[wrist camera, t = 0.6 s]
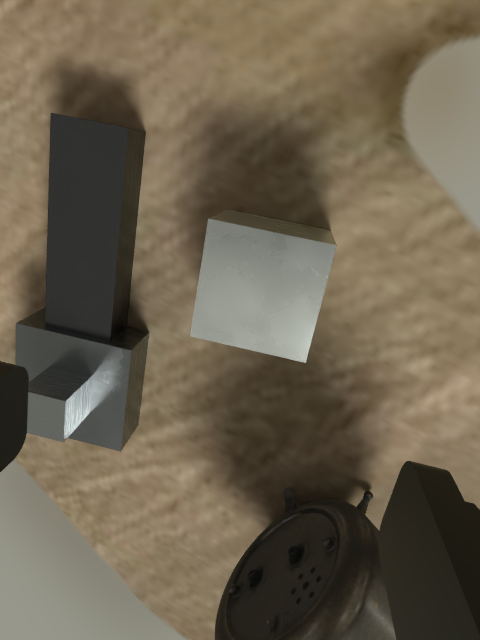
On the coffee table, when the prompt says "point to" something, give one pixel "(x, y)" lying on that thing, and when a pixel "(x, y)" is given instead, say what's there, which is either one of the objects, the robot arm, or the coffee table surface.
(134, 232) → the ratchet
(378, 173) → the coffee table surface
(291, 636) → the alarm clock
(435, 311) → the coffee table surface
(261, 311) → the brushed grey cube
